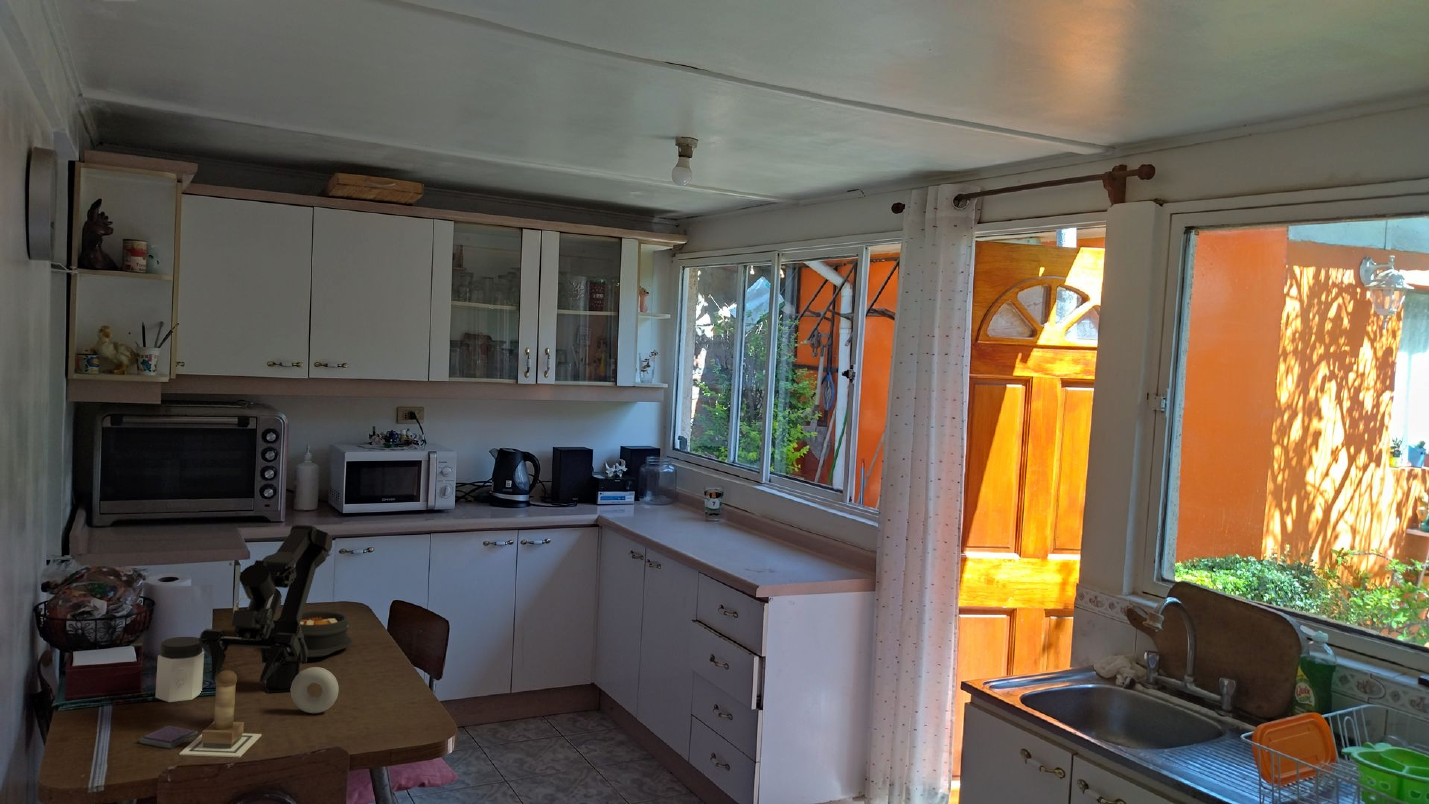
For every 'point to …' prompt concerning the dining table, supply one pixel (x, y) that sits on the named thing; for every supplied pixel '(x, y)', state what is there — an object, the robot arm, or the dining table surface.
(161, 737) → the ink pad
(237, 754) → the print card
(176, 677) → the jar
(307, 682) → the donut
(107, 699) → the dining table surface
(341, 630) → the casserole
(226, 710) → the stamp
